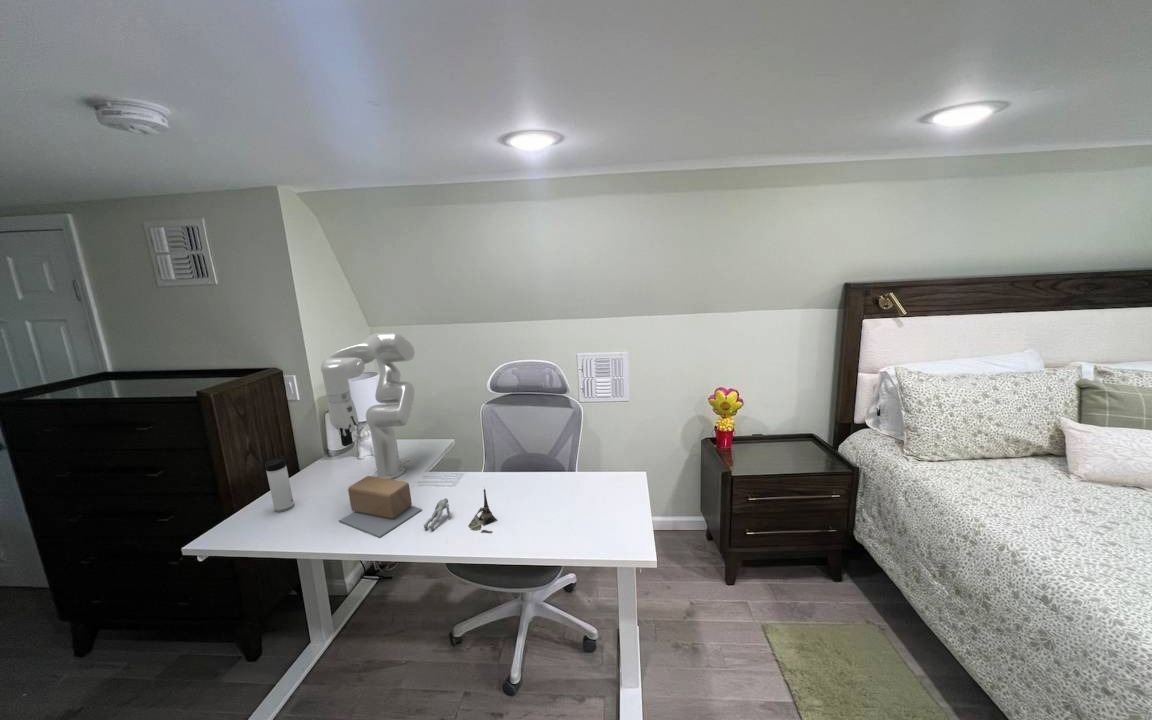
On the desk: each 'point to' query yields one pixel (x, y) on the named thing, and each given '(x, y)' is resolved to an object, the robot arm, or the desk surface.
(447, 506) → the grey humanoid figure
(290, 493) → the travel mug
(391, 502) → the block
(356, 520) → the mat
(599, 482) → the desk surface
